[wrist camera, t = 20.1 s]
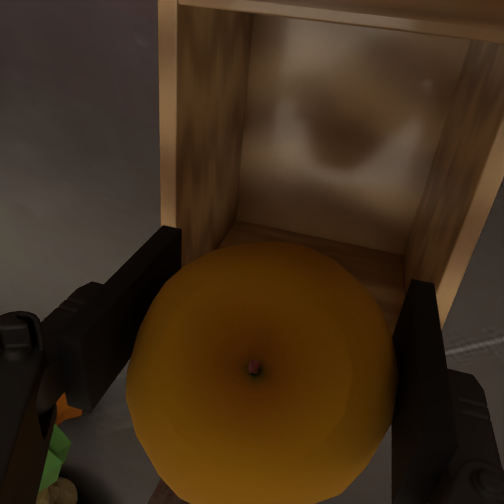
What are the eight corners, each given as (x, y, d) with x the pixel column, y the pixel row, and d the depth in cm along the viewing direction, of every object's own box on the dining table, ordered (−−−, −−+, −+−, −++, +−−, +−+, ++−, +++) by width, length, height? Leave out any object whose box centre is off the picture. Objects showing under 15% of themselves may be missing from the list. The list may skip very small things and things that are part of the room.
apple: (248, 525, 18) (195, 657, 10) (141, 350, 20) (23, 332, 12) (414, 395, 19) (504, 412, 10) (290, 240, 21) (278, 149, 12)
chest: (411, 261, 32) (421, 381, 22) (228, 222, 34) (161, 315, 24) (493, 11, 24) (567, 21, 14) (245, -16, 26) (156, -24, 16)
